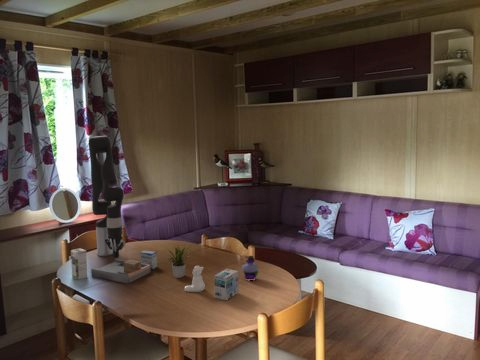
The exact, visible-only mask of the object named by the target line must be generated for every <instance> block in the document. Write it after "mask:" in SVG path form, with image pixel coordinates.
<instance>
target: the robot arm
mask: <svg viewBox="0 0 480 360" xmlns="http://www.w3.org/2000/svg"><path fill="white" fill-rule="evenodd" d="M88 150H89V159H90V179H91V182H90V183H91V192H92V195H91V196H92V199H91V201H92V202H91V203H92V204H91V206H92V207H91V209H92V213H93V215H94V216H102V215H103V216H104V217H103V218H101V219H98V220H97V221H96V222H95V232H96V233H95V234H96V235H95V236H96V251H97V254H96V255H97V256H99V257H108V256H111V255H112V257H113V259H119V257H120V251H121V250H122V249H123V248H124V247H125V245H126V243H127V241H126V240H123V236H122V235H123V218H122V205H123V200H124V196H125V192H124V190H123V187H121V186H115V185H116V184H117V182H118V180H117V176H116V173H115V172H116V171H115V168H114V160H113V158H114V157H113V151H112V150H113V149H112V145H111V140H110V138H109V136H107V135H99V136H97V135H96V136H91V137H89V138H88ZM97 154H105V159H104V162H103V163H101V161H100V159H98V157H97ZM101 195H102V196H101ZM100 196H101V197H102V199H99V198H100ZM112 202H114V203H112Z"/></svg>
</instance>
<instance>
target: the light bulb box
mask: <svg viewBox="0 0 480 360" xmlns="http://www.w3.org/2000/svg"><path fill="white" fill-rule="evenodd" d="M239 273H240V272H239V270H234V269H231V268H225V269H224V270H222V271H220V272H218V273H216V274H215V275H214V299H218V300H222V301H225V300H227V301H228V299H229V298H230V299H231V297H232V296H234V295H235V294H236V293H238V292H240V291H239V285H240V284H239V282H240V281H239V279H240V278H239V275H240V274H239ZM235 296H236V295H235ZM235 296H234V297H235ZM232 298H233V297H232ZM230 299H229V300H230Z"/></svg>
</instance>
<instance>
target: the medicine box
mask: <svg viewBox="0 0 480 360" xmlns="http://www.w3.org/2000/svg"><path fill="white" fill-rule="evenodd" d="M157 253H158V252H157V251H152V250H142V251H141V252H140V255H139V256H140V257H139V258H140V262H141V263H143V264H149V265H151V270H153V269H156V268H157V267H158V256H157Z"/></svg>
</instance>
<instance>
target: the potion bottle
mask: <svg viewBox="0 0 480 360" xmlns="http://www.w3.org/2000/svg"><path fill="white" fill-rule="evenodd" d="M245 262H246V263H245V264H242V265H241V267H242V271H243V274H244V279H245V278H246V279H254V278H255V277H256V278H257V276H258V275H259V268H260V266H259V264H257V263H255V262H256V260H255V257H254V256H253V255H247V258H245Z"/></svg>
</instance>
